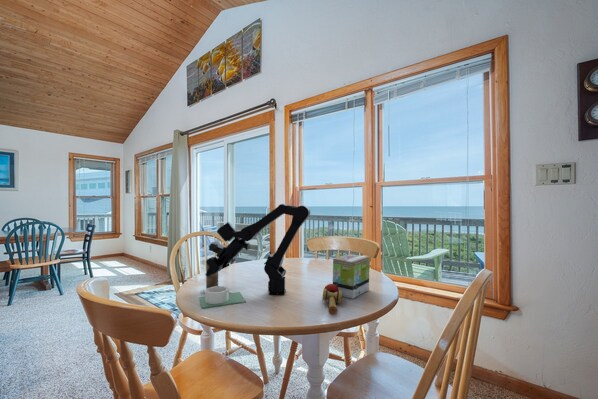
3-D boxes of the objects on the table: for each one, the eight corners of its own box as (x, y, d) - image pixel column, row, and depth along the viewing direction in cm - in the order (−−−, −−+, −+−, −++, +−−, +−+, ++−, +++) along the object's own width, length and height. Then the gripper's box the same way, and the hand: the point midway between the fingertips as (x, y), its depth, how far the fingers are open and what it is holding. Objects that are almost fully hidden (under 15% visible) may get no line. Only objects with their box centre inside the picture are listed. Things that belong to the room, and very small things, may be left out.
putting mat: (239, 292, 118) (239, 282, 118) (246, 302, 107) (246, 290, 107) (199, 298, 112) (199, 287, 112) (201, 308, 101) (201, 296, 101)
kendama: (346, 318, 96) (342, 293, 113) (343, 301, 95) (339, 278, 113) (324, 321, 96) (323, 296, 114) (320, 304, 96) (320, 282, 113)
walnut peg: (219, 287, 125) (219, 258, 125) (215, 291, 120) (215, 260, 120) (208, 287, 126) (208, 258, 126) (204, 291, 121) (204, 260, 121)
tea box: (354, 299, 110) (354, 261, 110) (331, 294, 116) (331, 258, 116) (369, 290, 122) (369, 255, 122) (348, 285, 128) (348, 253, 128)
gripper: (229, 233, 132) (207, 256, 133) (210, 238, 113) (185, 265, 115) (245, 250, 130) (223, 273, 132) (229, 258, 112) (203, 285, 114)
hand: (209, 274), depth 123 cm, fingers closed on walnut peg, 5 cm apart
